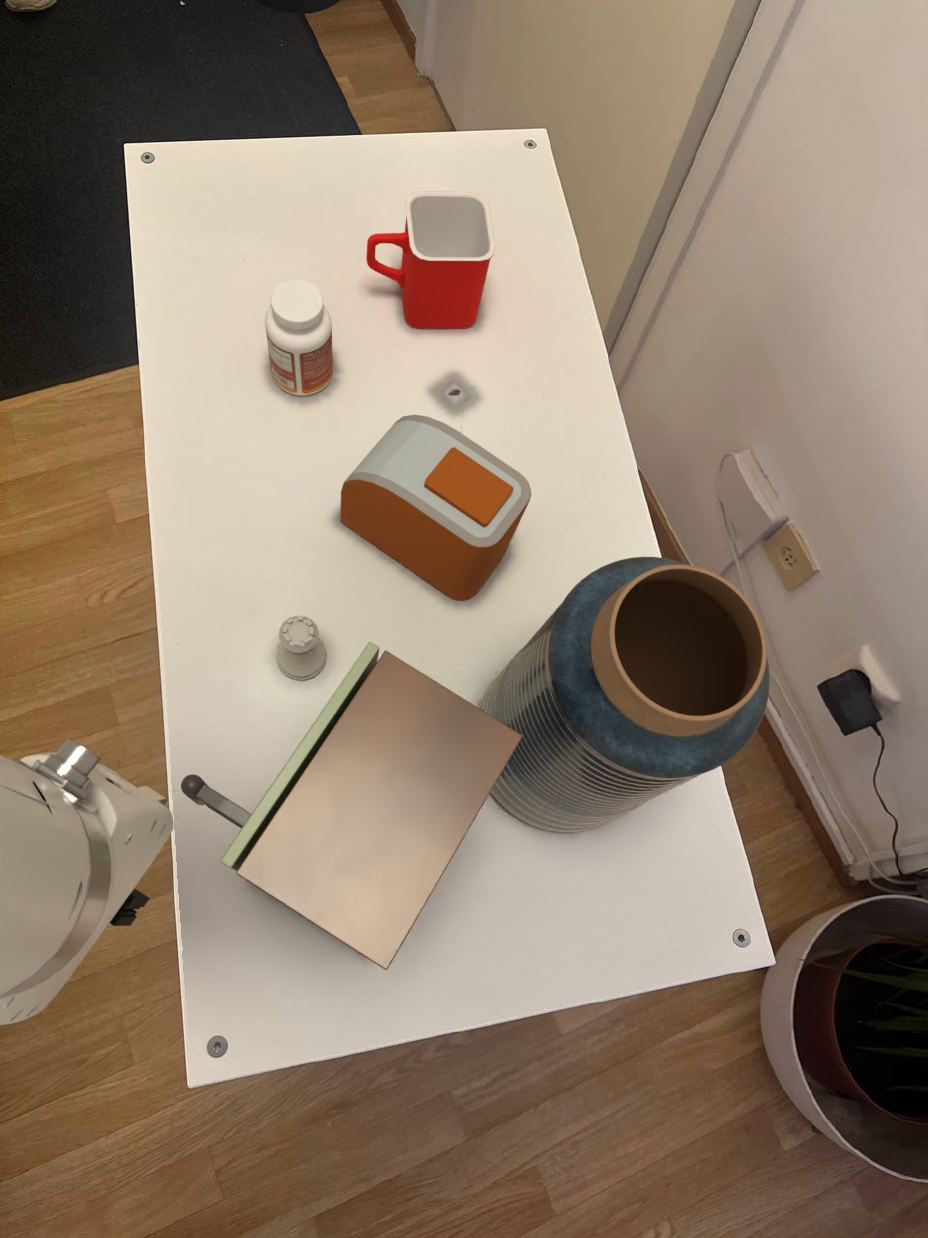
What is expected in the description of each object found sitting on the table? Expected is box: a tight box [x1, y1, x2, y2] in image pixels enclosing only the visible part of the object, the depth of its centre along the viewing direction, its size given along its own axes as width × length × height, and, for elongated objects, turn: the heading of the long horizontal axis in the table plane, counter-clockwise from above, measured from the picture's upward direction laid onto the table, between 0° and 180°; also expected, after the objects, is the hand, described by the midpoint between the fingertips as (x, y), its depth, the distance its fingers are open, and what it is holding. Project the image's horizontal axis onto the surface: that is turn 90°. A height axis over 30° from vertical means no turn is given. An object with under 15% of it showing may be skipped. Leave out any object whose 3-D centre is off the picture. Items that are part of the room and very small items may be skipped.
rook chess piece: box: [276, 615, 327, 681], centre depth 76 cm, size 4×4×8 cm
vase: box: [477, 556, 771, 833], centre depth 66 cm, size 16×16×32 cm
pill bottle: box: [264, 278, 334, 396], centre depth 84 cm, size 6×6×11 cm
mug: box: [366, 190, 496, 330], centre depth 89 cm, size 12×8×11 cm
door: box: [180, 641, 380, 872], centre depth 52 cm, size 5×14×10 cm, turn 149°
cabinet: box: [235, 650, 522, 971], centre depth 61 cm, size 11×14×31 cm
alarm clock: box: [339, 414, 532, 601], centre depth 79 cm, size 15×8×14 cm, turn 56°
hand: (116, 895), depth 46 cm, fingers closed
